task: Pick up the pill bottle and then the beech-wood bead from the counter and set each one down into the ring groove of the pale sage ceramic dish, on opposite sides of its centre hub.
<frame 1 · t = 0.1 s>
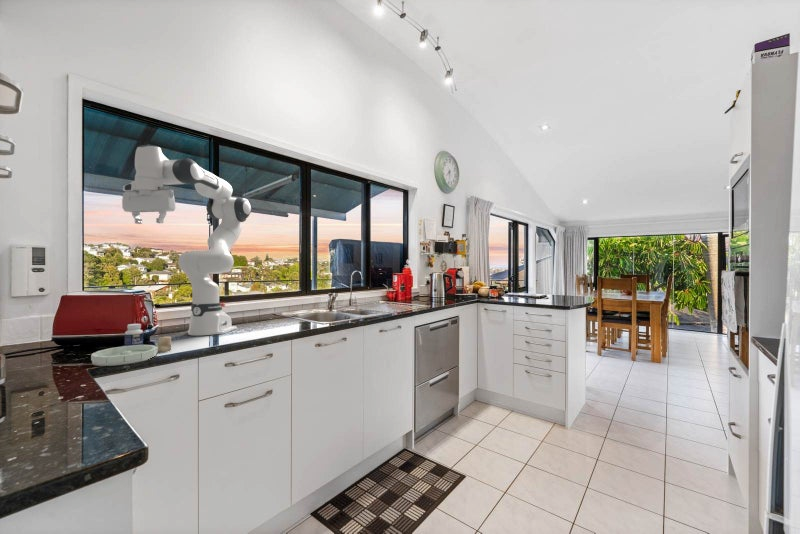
hand: (149, 223, 132), 48 cm above the worktop, tool pointing down, fingers open, 8 cm apart
dish: (125, 358, 117), on the worktop
beech bead: (164, 351, 127), on the worktop
pill bottle: (133, 351, 128), on the worktop
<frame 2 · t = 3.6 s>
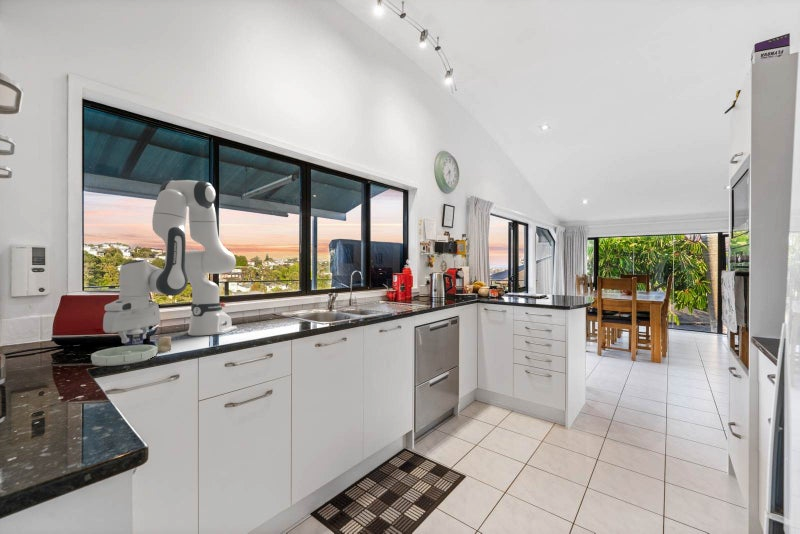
hand: (134, 340, 128), 4 cm above the worktop, tool pointing down, fingers closed on pill bottle, 5 cm apart
pill bottle: (133, 351, 128), on the worktop, touching gripper
everything else where it was.
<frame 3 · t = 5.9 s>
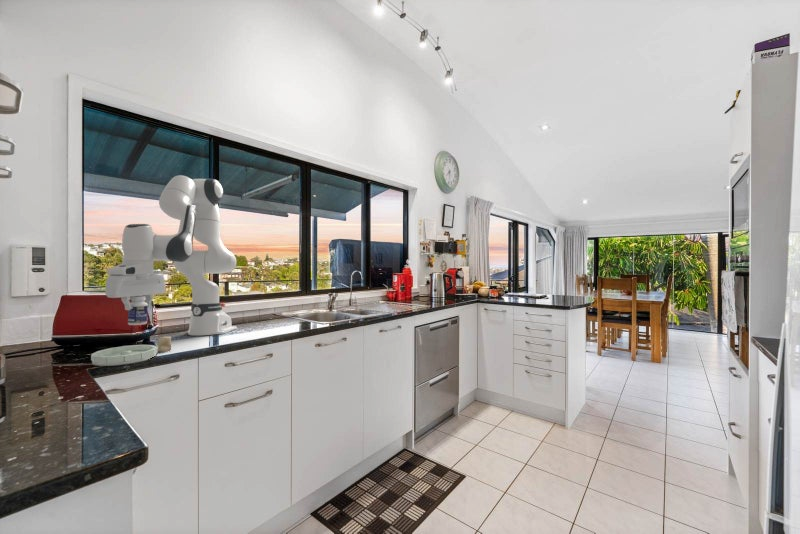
hand: (138, 308, 121), 16 cm above the worktop, tool pointing down, fingers closed on pill bottle, 5 cm apart
pill bottle: (137, 324, 121), point 11 cm above the worktop, touching gripper
everything else where it was.
when the fingers open (6 cm above the worktop, at t = 8.1 s): pill bottle stays where it is, resting on dish.
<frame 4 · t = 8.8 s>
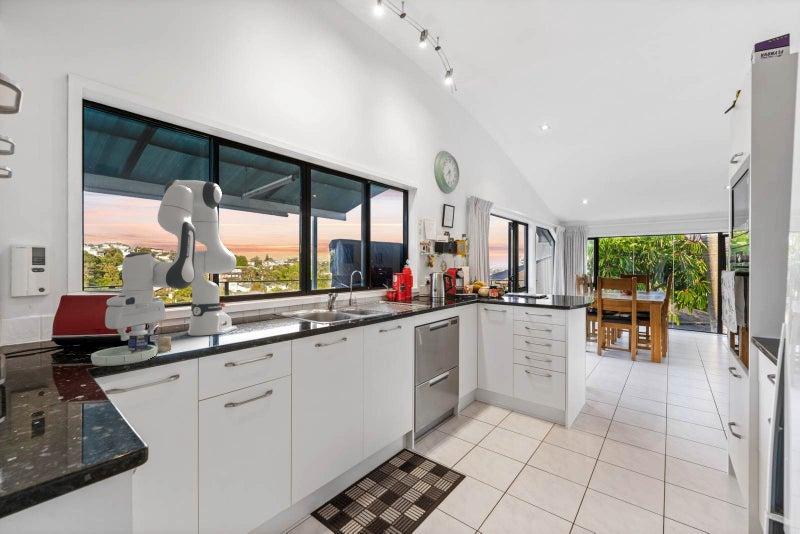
hand: (137, 337, 121), 6 cm above the worktop, tool pointing down, fingers open, 8 cm apart
pill bottle: (138, 353, 121), point 1 cm above the worktop, touching dish
everything else where it was.
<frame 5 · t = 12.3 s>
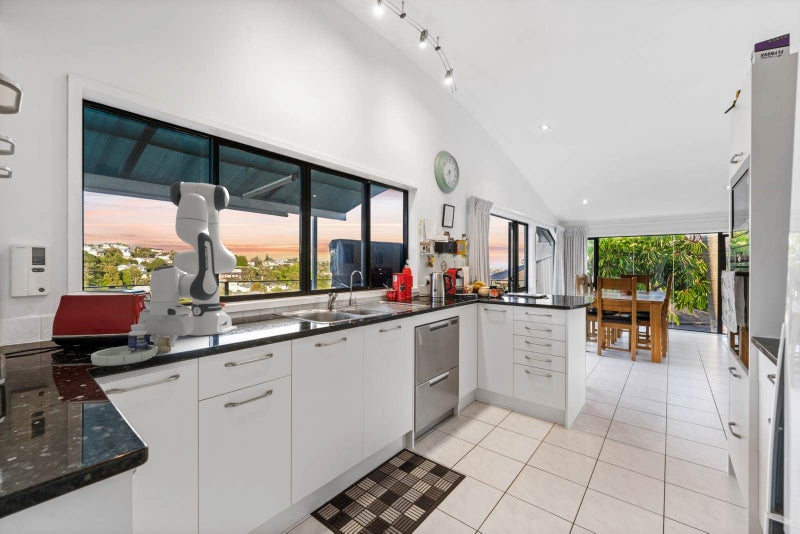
hand: (164, 346, 127), 2 cm above the worktop, tool pointing down, fingers closed on beech bead, 4 cm apart
beech bead: (164, 351, 127), on the worktop, touching gripper
everything else where it was.
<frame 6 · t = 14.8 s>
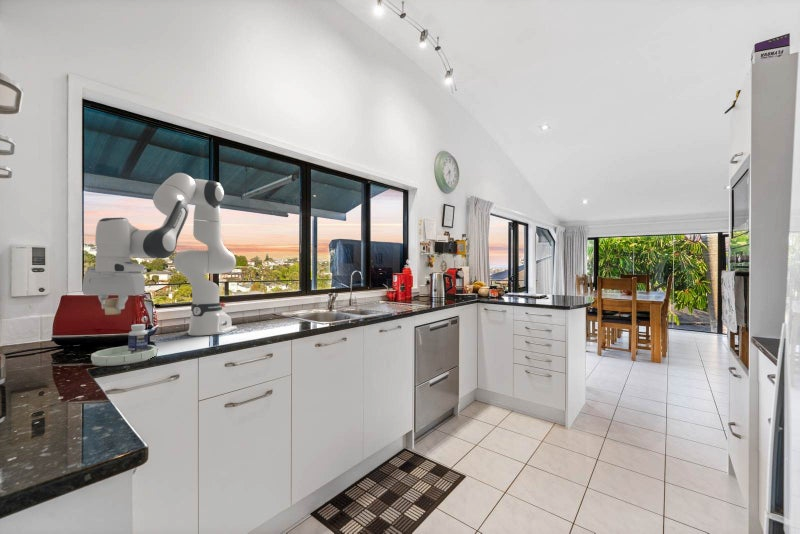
hand: (113, 309, 112), 17 cm above the worktop, tool pointing down, fingers closed on beech bead, 4 cm apart
beech bead: (112, 314, 112), point 16 cm above the worktop, touching gripper
everything else where it was.
when the fingers open (4 cm above the worktop, at t = 17.6 s): beech bead drops 1 cm, resting on dish.
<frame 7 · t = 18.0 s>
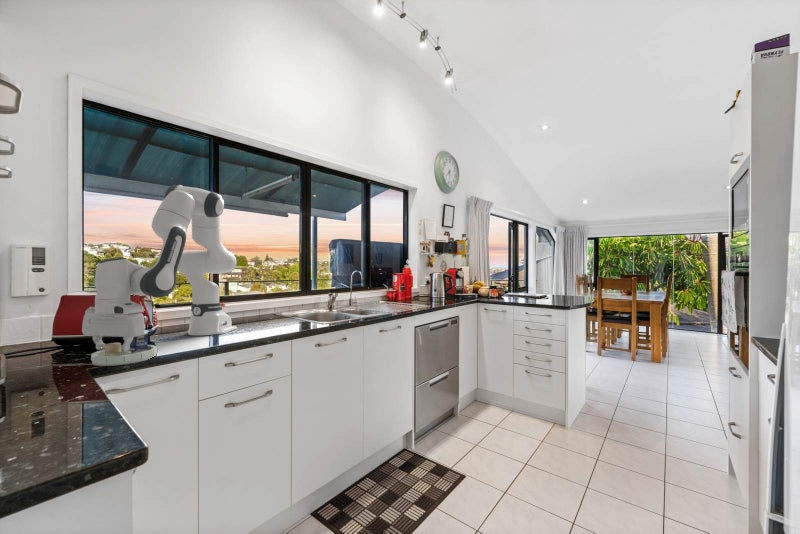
hand: (112, 349, 112), 4 cm above the worktop, tool pointing down, fingers open, 8 cm apart
beech bead: (112, 359, 112), point 1 cm above the worktop, touching dish
everything else where it was.
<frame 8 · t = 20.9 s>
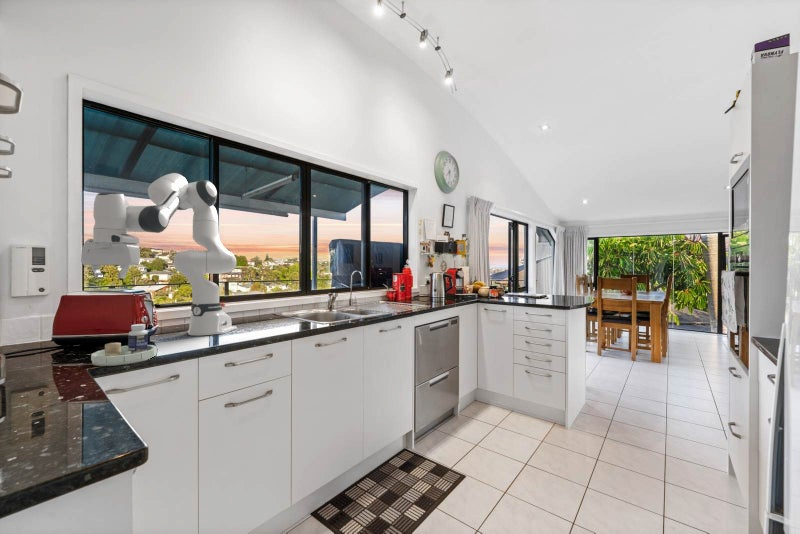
hand: (110, 278, 119), 27 cm above the worktop, tool pointing down, fingers open, 8 cm apart
nothing on the worktop moved.
at the end: pill bottle inside the target area on the dish (0.2 cm from its centre), point 0.8 cm above the dish's base; pill bottle tilted 0°; beech bead inside the target area on the dish (0.3 cm from its centre), point 1.0 cm above the dish's base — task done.
